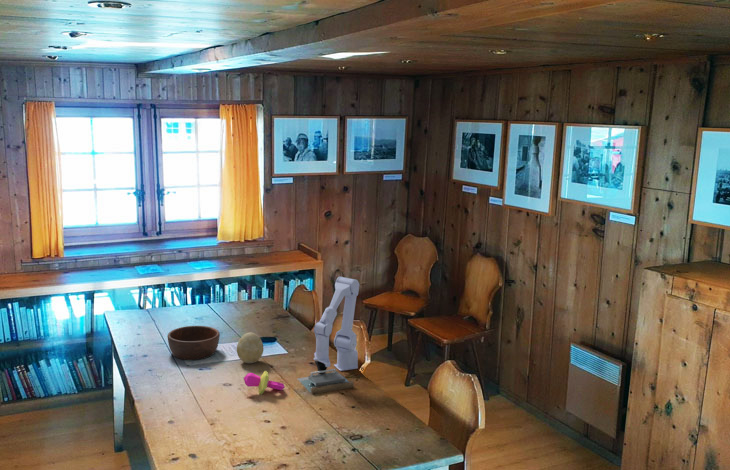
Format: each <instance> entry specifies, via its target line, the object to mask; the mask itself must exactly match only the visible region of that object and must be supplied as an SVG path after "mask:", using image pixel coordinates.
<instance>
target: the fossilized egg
mask: <svg viewBox="0 0 730 470" xmlns="http://www.w3.org/2000/svg"><path fill="white" fill-rule="evenodd" d="M236 344H237V345H236V354H237V356H238V358H239V359H240V360H241V361H242V362H244V363H245V364H254V363H257V362H258V361H259V360H260V359H261V357H262V356H263V354H264V344H263V341H262V339H261V337H260V336H258V334H256V333H254V332H252V331H251V332H246V333H244V334H243V335H242V336H241V337H240V338H239V340H238V342H237V343H236Z"/></svg>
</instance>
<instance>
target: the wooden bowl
mask: <svg viewBox="0 0 730 470" xmlns="http://www.w3.org/2000/svg"><path fill="white" fill-rule="evenodd" d="M220 335H221V333H220V331H219V330H218V329H217V328H215V327H211V326H207V325H187V326H181V327H178V328H174V329H173V330H171V331H169V332H168V334H167V337H166V338H167V342H168V347H169V350H170V352H171V354H172V356H174V357H176V358H178V359H180V360H186V361H188V360H189V361H196V360H202V359H207V358H209V357H211V356H213V355H214V354H215V352H216V351H217V349H218V346H219V343H220Z"/></svg>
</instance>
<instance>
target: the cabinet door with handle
mask: <svg viewBox="0 0 730 470" xmlns="http://www.w3.org/2000/svg"><path fill="white" fill-rule="evenodd" d="M324 372H325V373H324ZM318 373H324V374H318ZM340 374H341V373H339V372H338V371H337V368H331V369H326V370H323V371H318V370H317V371H311V372H310V375H308V376H307V377H308V379H309V380H310V381H311V382H312V383H313V384H314V385H315V386H316V387H317V386H321V385H327V384H334V383H342V382H345V379H346V377H345V376H343V375H342V374H341V375H340Z"/></svg>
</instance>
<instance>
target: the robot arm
mask: <svg viewBox="0 0 730 470" xmlns="http://www.w3.org/2000/svg"><path fill="white" fill-rule="evenodd" d="M334 289H335V291H334V293H333V296H332V298H331V301H330V304H329V306H327V307H326V308H324V309H325V310H324V312H323V313H322V316H321V318H320V319H319V321H317V322H316V323H315V325H314V327H313V333H314V337H315V352H314V353H313V355H314V357H313V361H314V364H315V366H316V368H317V371H323V370H328V368H330V367H331V361H330V356H329V351H330V349H329V348H330V336H331V334H332V331H333V326H334V325H333V323H334V321H335V319H336V317H337V315H338V312H337V309H338V307H339V306H340V304H341V302H342V301H343V299H344V305H343V313H342V320H341V328H340V329H339V330H338V331H336V333H335V336H334V340H333V345H334V347H336V348H335V350H337V352H336V353H337V354H336V355H337V357H336V360H337V361H336V363H335V364H333V366H334V367H335V369H336V370H337V369H338V370H339V371H340V372H343V371H349V370H355V369H359V367H358V365H359V363H358V359H359V354H358V350H357V348H356V347H357V344H358V342H357V334H356V333H355V332H354V331H353V325H354V317H355V310H356V302H357V296H358V295H359V293H360V292H359V291H360V282H359V281H358V279H356V278H355V279H354V278H350V277H349V278H348V277H345V276H344V277H343V276H341V275H340V276H338V277H337V278H336V280H335V283H334ZM324 373H326V372H324ZM324 373H317V374H324Z"/></svg>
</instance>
